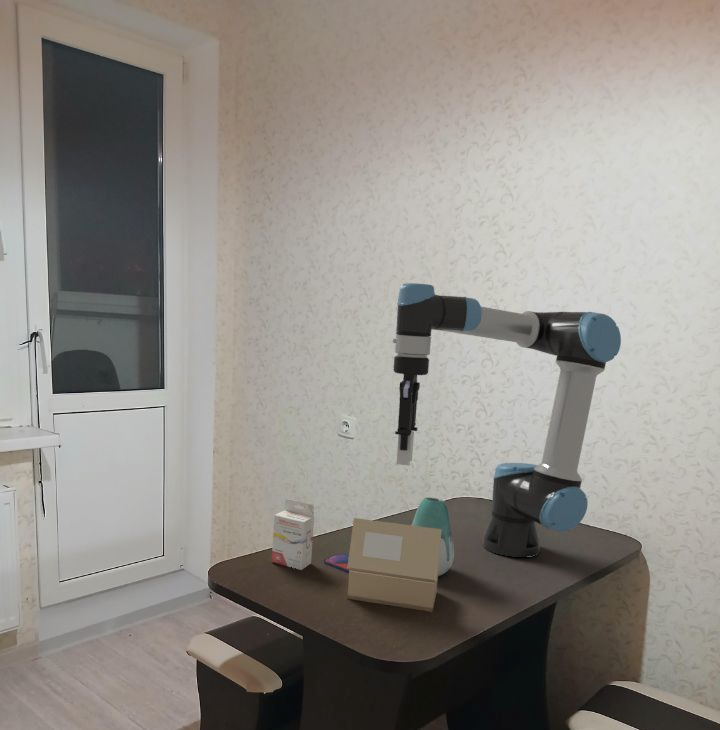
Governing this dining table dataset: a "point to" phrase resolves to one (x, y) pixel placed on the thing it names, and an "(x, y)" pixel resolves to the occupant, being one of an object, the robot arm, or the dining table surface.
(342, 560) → the smartphone
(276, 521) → the ink cartridge box
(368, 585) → the box
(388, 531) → the lid
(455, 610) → the dining table surface
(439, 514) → the vase
